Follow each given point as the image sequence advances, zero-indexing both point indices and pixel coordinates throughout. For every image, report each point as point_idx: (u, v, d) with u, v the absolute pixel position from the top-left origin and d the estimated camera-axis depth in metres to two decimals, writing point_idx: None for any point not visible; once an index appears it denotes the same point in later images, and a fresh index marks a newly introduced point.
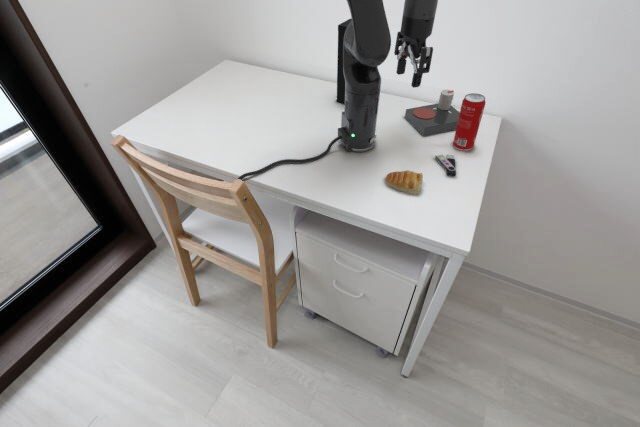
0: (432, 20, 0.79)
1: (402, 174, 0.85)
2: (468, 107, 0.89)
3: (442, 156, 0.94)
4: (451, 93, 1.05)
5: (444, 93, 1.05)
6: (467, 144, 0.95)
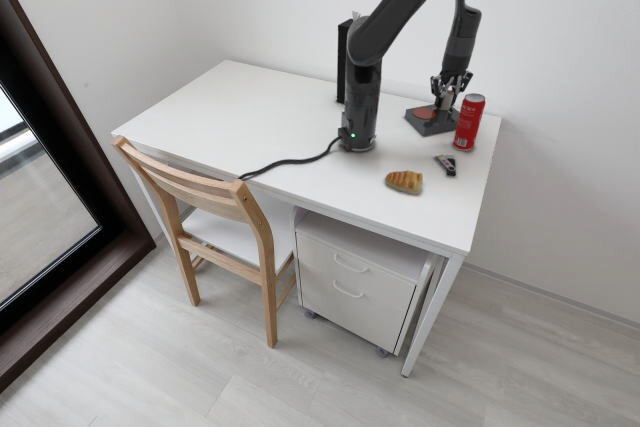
0: None
1: (402, 174, 0.85)
2: (468, 107, 0.89)
3: (442, 156, 0.94)
4: (451, 93, 1.05)
5: None
6: (467, 144, 0.95)
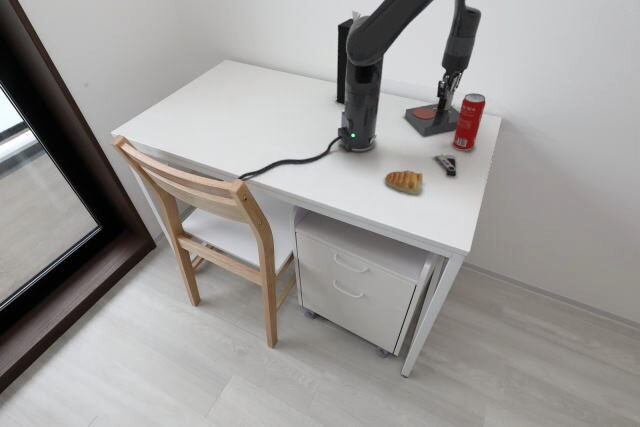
0: None
1: (402, 174, 0.85)
2: (468, 107, 0.89)
3: (442, 156, 0.94)
4: (451, 92, 1.06)
5: None
6: (467, 144, 0.95)
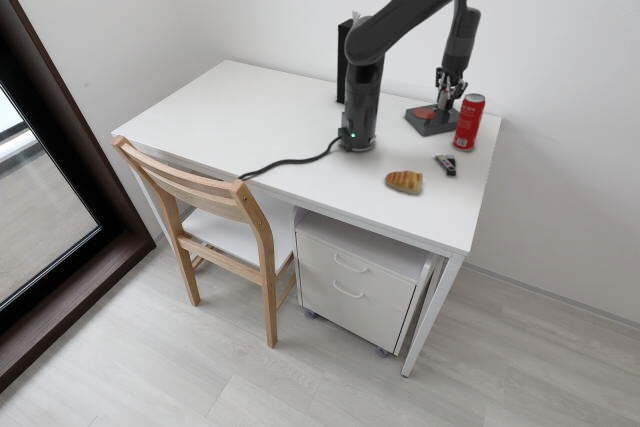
0: None
1: (402, 174, 0.85)
2: (468, 107, 0.89)
3: (442, 156, 0.94)
4: None
5: None
6: (467, 144, 0.95)
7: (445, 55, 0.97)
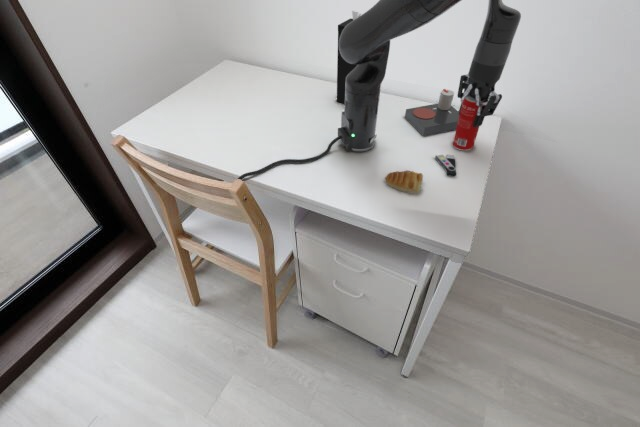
0: None
1: (402, 174, 0.85)
2: (468, 108, 0.89)
3: (442, 156, 0.94)
4: (449, 91, 1.06)
5: (451, 94, 1.05)
6: (467, 144, 0.95)
7: (474, 64, 0.82)
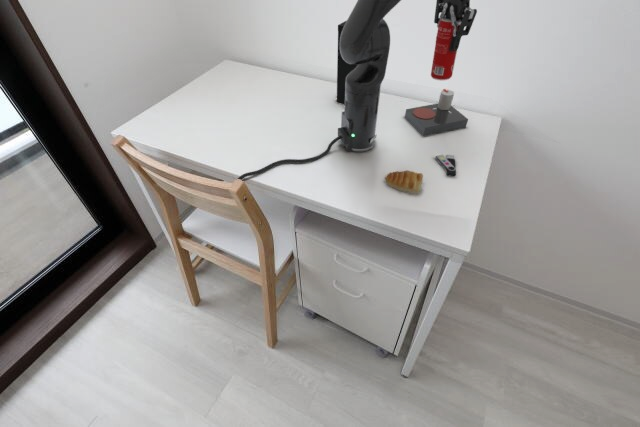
0: None
1: (402, 174, 0.85)
2: (444, 29, 0.86)
3: (442, 156, 0.94)
4: (449, 91, 1.06)
5: (451, 94, 1.05)
6: (444, 72, 0.92)
7: None
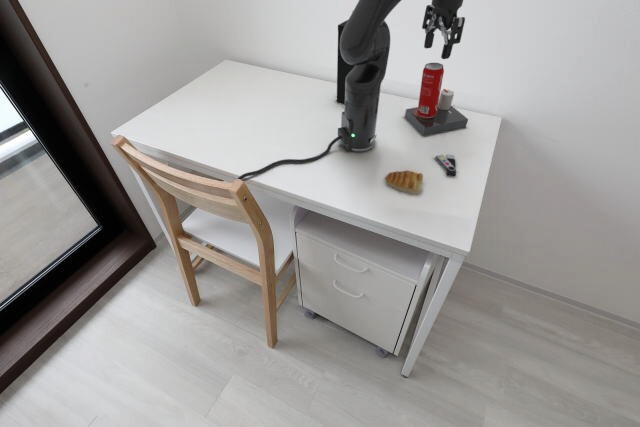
0: None
1: (402, 174, 0.85)
2: (427, 75, 0.96)
3: (442, 156, 0.94)
4: (449, 91, 1.06)
5: (451, 94, 1.05)
6: (429, 111, 1.02)
7: None
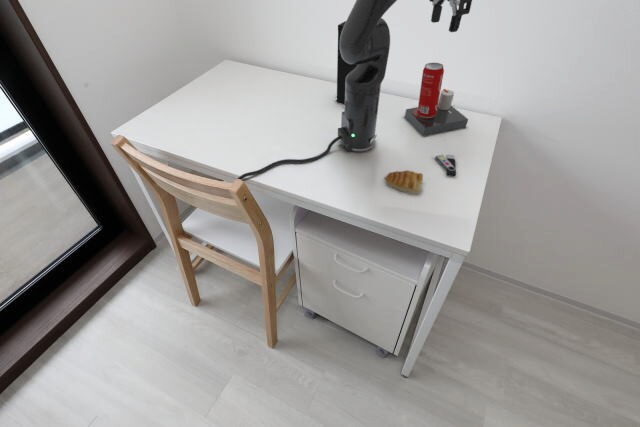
0: None
1: (402, 174, 0.85)
2: (427, 75, 0.96)
3: (442, 156, 0.94)
4: (449, 91, 1.06)
5: (451, 94, 1.05)
6: (429, 111, 1.02)
7: None
